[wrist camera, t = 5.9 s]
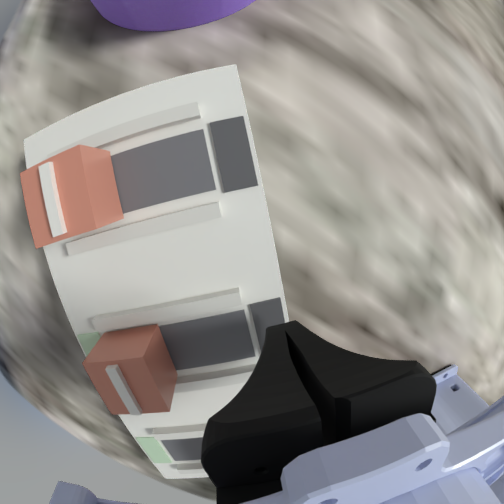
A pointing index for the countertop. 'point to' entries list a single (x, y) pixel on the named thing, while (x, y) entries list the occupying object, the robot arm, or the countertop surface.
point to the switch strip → (174, 247)
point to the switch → (70, 194)
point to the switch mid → (133, 371)
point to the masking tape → (166, 12)
